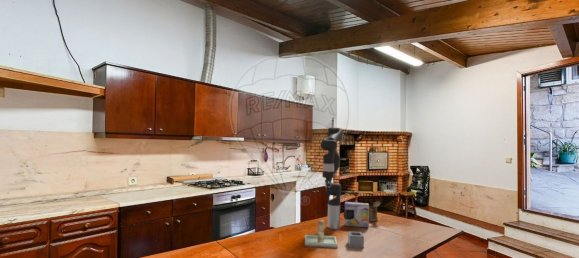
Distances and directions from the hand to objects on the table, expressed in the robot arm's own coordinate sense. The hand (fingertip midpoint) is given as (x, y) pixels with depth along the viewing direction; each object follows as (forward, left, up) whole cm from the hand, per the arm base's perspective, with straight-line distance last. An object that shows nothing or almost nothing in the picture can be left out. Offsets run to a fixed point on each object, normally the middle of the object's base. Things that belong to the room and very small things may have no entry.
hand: (327, 194), depth 194 cm
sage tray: (+5, -4, -30) cm, 30 cm away
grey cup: (+5, +18, -30) cm, 35 cm away
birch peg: (+5, -4, -29) cm, 29 cm away
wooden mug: (-55, +42, -30) cm, 75 cm away
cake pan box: (-38, +25, -30) cm, 55 cm away
